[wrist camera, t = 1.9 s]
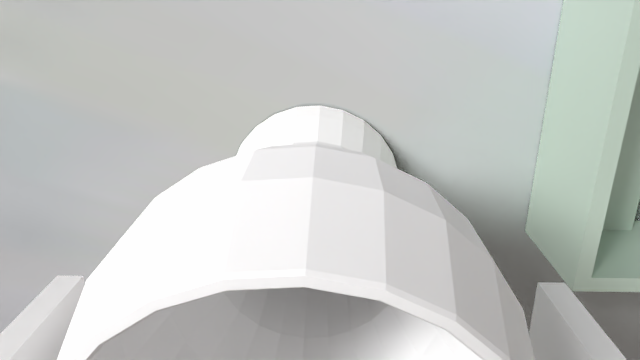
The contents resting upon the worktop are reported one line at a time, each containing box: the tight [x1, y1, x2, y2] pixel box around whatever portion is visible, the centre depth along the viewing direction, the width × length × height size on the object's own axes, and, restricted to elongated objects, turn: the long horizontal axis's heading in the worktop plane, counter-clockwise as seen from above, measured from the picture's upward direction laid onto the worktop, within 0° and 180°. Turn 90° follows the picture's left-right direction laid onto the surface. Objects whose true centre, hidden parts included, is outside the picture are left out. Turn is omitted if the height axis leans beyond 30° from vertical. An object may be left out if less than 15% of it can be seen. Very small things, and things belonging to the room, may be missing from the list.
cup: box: [57, 105, 535, 360], centre depth 16 cm, size 11×11×15 cm
